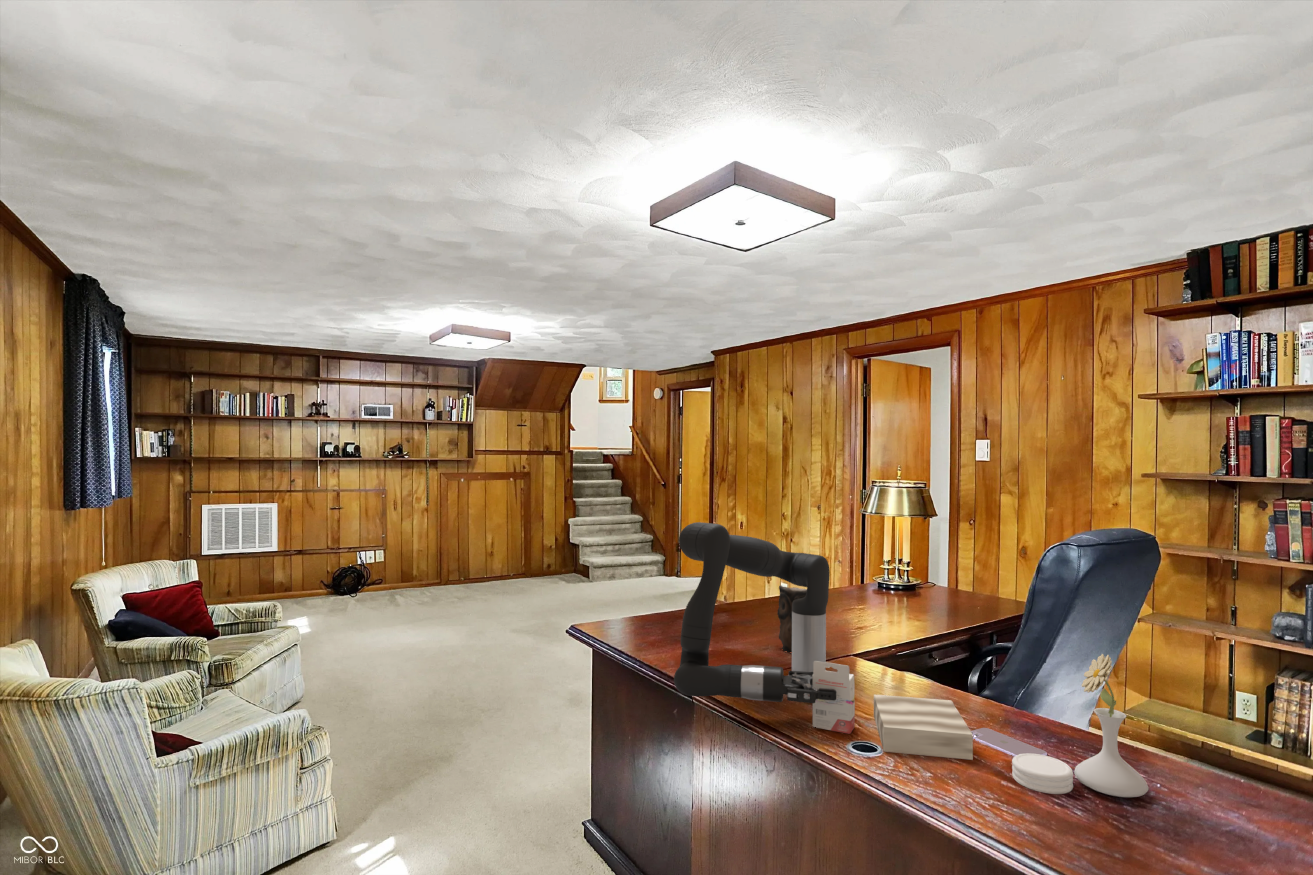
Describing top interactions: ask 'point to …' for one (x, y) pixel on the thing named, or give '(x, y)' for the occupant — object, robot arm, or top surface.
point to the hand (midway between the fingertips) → (835, 688)
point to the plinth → (922, 727)
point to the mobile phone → (1004, 742)
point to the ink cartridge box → (842, 709)
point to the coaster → (1042, 773)
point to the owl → (787, 613)
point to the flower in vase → (1108, 744)
